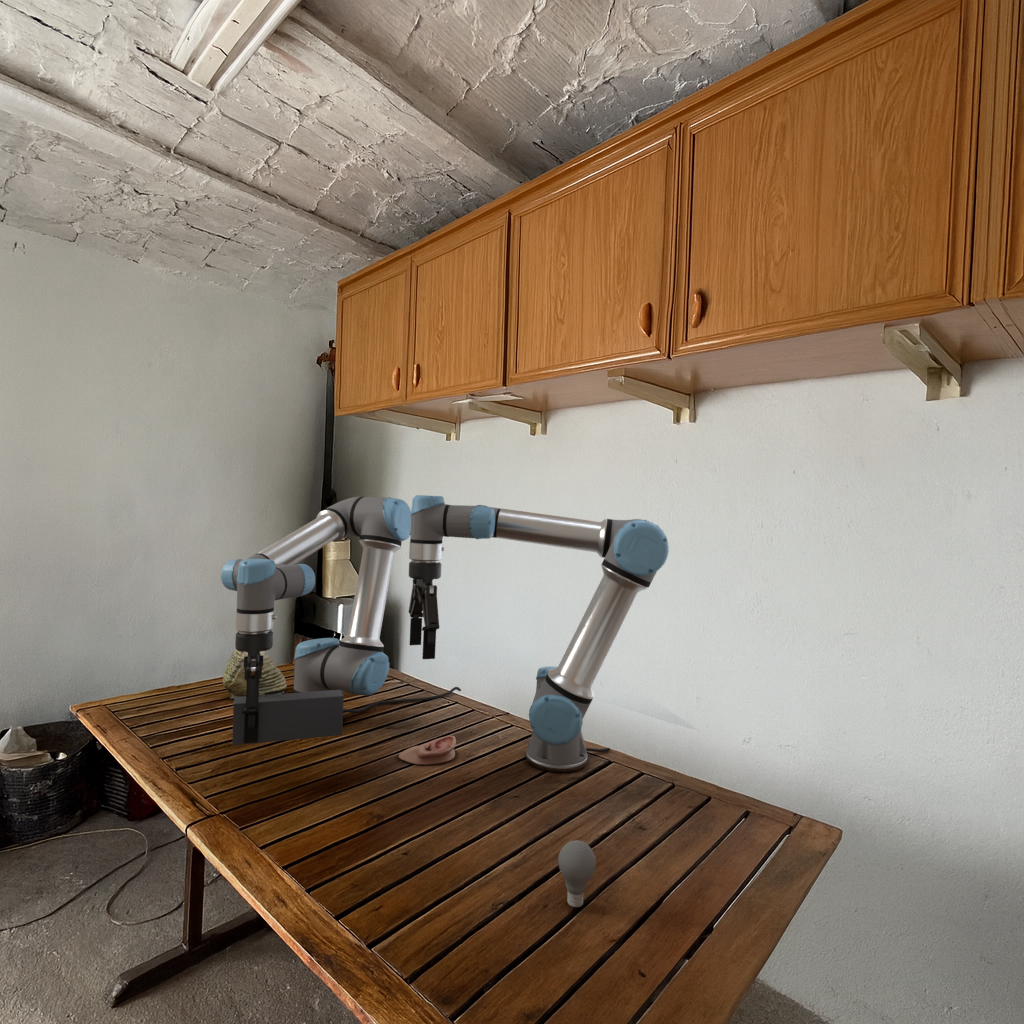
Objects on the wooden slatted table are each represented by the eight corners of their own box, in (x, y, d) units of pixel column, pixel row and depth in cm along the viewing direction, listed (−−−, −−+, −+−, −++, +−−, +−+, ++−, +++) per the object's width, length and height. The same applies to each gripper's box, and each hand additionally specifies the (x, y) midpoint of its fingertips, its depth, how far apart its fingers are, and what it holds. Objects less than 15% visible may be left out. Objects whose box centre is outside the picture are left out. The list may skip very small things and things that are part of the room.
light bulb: (553, 893, 104) (556, 833, 104) (589, 892, 104) (592, 832, 104) (559, 917, 98) (562, 853, 98) (597, 916, 99) (600, 853, 98)
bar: (232, 745, 134) (233, 703, 134) (233, 737, 139) (234, 696, 138) (342, 735, 142) (343, 695, 142) (339, 727, 147) (341, 689, 147)
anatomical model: (394, 745, 152) (411, 728, 164) (393, 761, 153) (410, 744, 164) (446, 752, 150) (460, 734, 161) (446, 768, 150) (459, 750, 161)
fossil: (218, 695, 195) (220, 647, 195) (278, 685, 208) (279, 640, 207) (228, 703, 189) (230, 653, 188) (289, 692, 201) (290, 645, 201)
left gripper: (273, 639, 130) (269, 751, 131) (272, 622, 147) (269, 721, 147) (233, 640, 127) (230, 755, 128) (237, 623, 144) (234, 724, 145)
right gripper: (455, 567, 138) (451, 664, 138) (428, 556, 161) (424, 639, 161) (421, 567, 135) (417, 666, 135) (398, 555, 158) (395, 640, 159)
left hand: (251, 737), depth 138 cm, fingers closed on bar, 5 cm apart
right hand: (421, 651), depth 148 cm, fingers open, 13 cm apart
